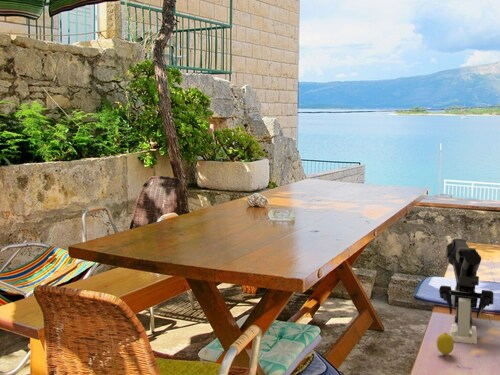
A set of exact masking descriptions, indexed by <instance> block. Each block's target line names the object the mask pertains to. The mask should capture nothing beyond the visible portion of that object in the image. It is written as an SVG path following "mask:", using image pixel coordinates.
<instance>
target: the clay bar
mask: <svg viewBox="0 0 500 375" xmlns="http://www.w3.org/2000/svg"><path fill="white" fill-rule="evenodd" d="M470 304H471V299H468V298H459V307H458V322H457V329H458V335H459V336H467V337H469V333H470V331H471V329H470V328H471V324H470Z"/></svg>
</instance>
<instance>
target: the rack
mask: <svg viewBox="0 0 500 375" xmlns="http://www.w3.org/2000/svg"><path fill="white" fill-rule="evenodd" d="M450 336H451V337H452V338H453V342H455V343H464V344H472V343H474V345H477V344H478V333H477V326H475V325H472V326H471V330H470V333H469V337H467V336H459V335H458V328H457V324H456V323H452V324H451V328H450Z"/></svg>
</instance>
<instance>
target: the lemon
mask: <svg viewBox="0 0 500 375" xmlns="http://www.w3.org/2000/svg"><path fill="white" fill-rule="evenodd" d="M454 346H455V344H454V341H453V338H452V337H451V334H449V333H447V332H444V333H441V334H439V335H438V337H437V341H436V348H437V350H438V352H439V353H441V354H442V355H443V356H447V355H448V354H451V353H452V351H454Z"/></svg>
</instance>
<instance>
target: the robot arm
mask: <svg viewBox="0 0 500 375" xmlns="http://www.w3.org/2000/svg"><path fill="white" fill-rule="evenodd" d="M445 258H447V262H448V264H450V265H451V266H452V267H453V272H454V277H455V282H456V285H455V286H454V287H455V288H454V289H452V286H449V285H441V286H439V290H438V292H439V298H440V299H442V300H443V301H445V302H446V304H447V306H448V310H449V314H450V315H452V313H453V312H452V311H453V308H456V310H455V316H454V323H458V307H459V298H468V299H471V304H470V325H471V324H472V325H473V317H472V308H477V310H476V318H477V319H478V318H479V317H480V315H481V313H482V312H483V311H484V309H485V308H486V307H489V306H490V305H493V304H494V298H495V297H494V292H493V290H486V289H482V290H481V292H476V286H479V284H480V283H479V282H480V281H479V280H480V277H479V276H478V275H477V273H478V270H479V268H480V266H481V262H482V256H481V255H480V253H479V252H478V251H477V249H476V248H473V247H469V246H468V244H467V240H466V239H463V238H462V239H461V238H455V239H452V241H451V242H450V243H449V244H447V245H446V248H445ZM478 300H479V302H478ZM452 306H453V307H452Z"/></svg>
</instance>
